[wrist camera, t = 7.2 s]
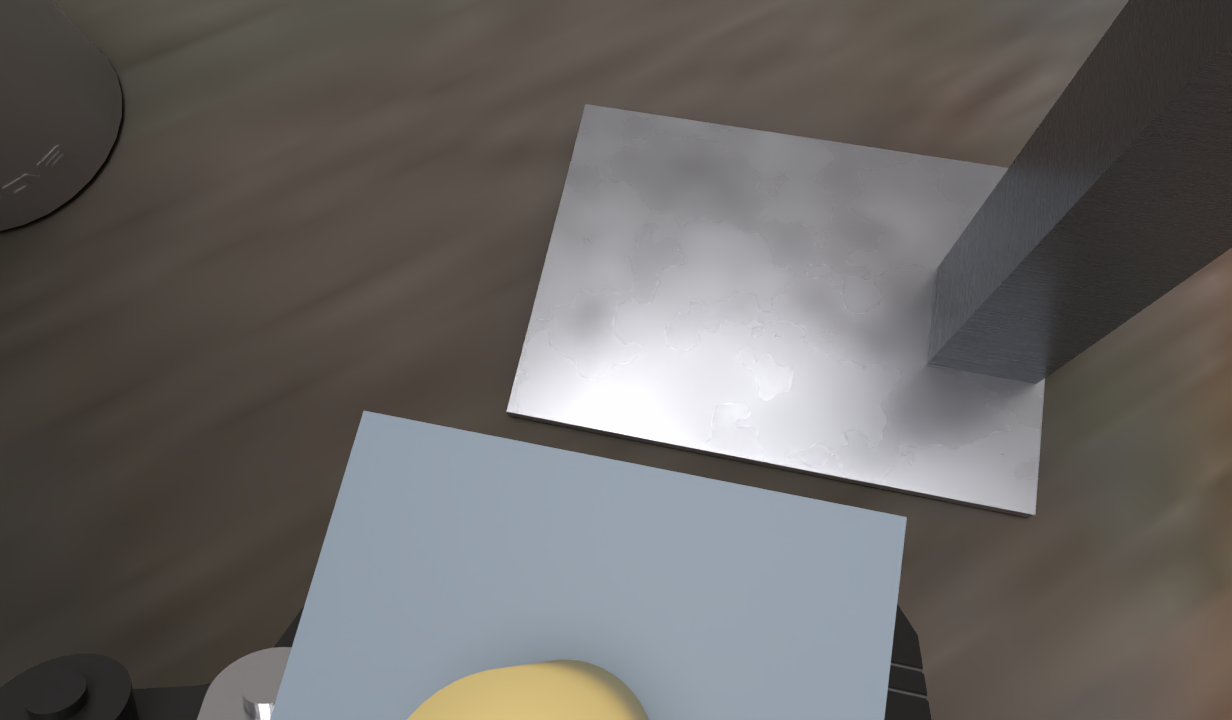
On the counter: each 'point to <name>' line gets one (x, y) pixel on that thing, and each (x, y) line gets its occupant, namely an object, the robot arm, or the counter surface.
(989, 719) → the counter surface
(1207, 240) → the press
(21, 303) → the counter surface
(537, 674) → the block
